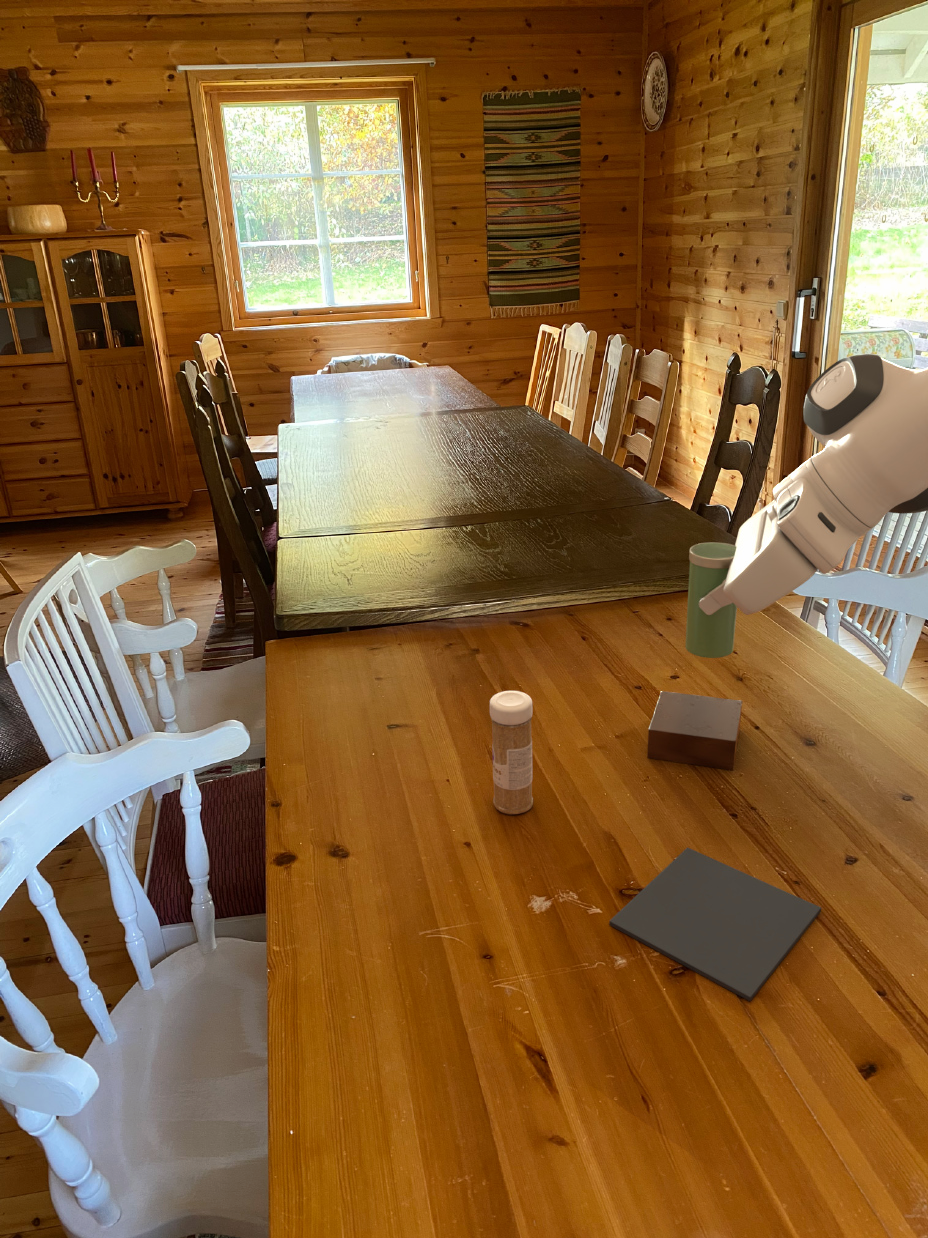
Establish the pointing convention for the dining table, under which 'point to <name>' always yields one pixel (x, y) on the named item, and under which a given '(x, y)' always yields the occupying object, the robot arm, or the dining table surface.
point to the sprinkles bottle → (512, 751)
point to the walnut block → (695, 730)
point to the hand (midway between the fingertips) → (706, 596)
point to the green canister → (705, 573)
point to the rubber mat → (717, 921)
